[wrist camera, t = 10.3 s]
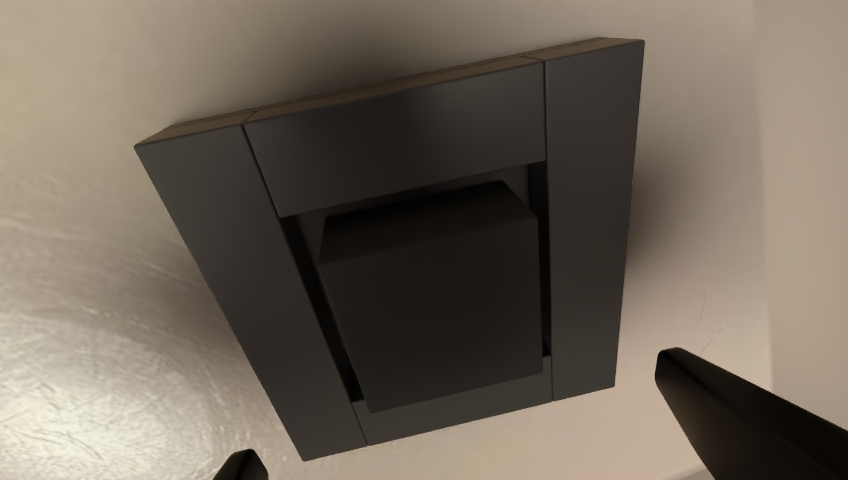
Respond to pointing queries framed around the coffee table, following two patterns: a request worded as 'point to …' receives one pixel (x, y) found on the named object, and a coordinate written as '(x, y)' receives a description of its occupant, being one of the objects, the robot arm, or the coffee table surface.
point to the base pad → (401, 181)
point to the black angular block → (436, 293)
